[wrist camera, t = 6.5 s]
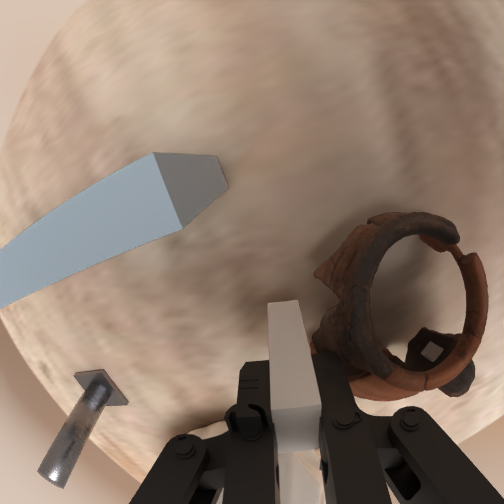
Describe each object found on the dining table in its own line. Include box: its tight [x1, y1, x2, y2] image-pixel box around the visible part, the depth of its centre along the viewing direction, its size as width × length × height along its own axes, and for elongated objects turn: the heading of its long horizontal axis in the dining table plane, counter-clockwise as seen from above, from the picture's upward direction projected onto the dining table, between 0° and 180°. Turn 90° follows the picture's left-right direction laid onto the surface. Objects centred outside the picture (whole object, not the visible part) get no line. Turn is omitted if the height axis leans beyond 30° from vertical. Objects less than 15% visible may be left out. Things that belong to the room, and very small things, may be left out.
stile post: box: [38, 370, 128, 488], centre depth 14 cm, size 4×4×10 cm
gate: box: [0, 153, 228, 309], centre depth 9 cm, size 14×2×9 cm, turn 110°
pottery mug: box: [310, 212, 489, 401], centre depth 13 cm, size 12×9×8 cm
